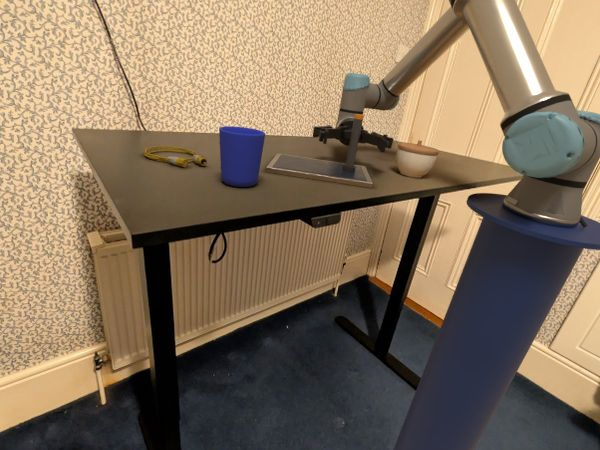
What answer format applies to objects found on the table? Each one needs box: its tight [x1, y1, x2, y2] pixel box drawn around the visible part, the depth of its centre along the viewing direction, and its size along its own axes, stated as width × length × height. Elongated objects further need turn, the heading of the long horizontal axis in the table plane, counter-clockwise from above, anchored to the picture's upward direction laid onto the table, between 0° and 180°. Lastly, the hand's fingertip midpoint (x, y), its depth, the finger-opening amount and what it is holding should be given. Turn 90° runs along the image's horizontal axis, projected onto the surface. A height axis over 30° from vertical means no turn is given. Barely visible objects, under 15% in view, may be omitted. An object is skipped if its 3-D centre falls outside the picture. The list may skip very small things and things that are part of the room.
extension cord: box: [144, 145, 208, 168], centre depth 72 cm, size 12×16×2 cm
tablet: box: [265, 152, 374, 189], centre depth 80 cm, size 24×17×1 cm
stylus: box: [342, 114, 365, 172], centre depth 77 cm, size 3×3×13 cm
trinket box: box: [395, 139, 440, 179], centre depth 88 cm, size 11×11×9 cm
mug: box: [218, 125, 266, 188], centre depth 62 cm, size 8×12×10 cm
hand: (354, 142), depth 74 cm, fingers open, 13 cm apart
